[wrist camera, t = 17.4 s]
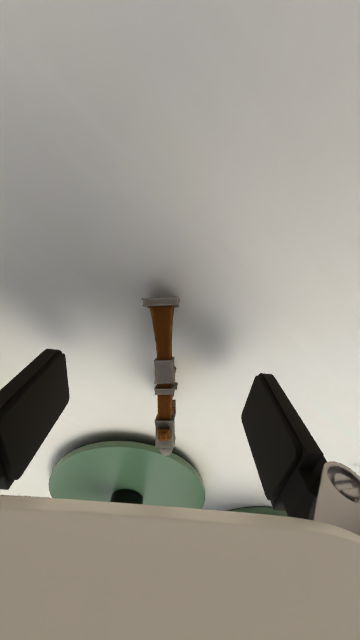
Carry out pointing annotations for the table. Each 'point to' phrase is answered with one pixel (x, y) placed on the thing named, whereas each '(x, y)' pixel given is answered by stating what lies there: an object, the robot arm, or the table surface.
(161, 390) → the wooden post with brackets
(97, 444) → the tin lid
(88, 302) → the table surface
